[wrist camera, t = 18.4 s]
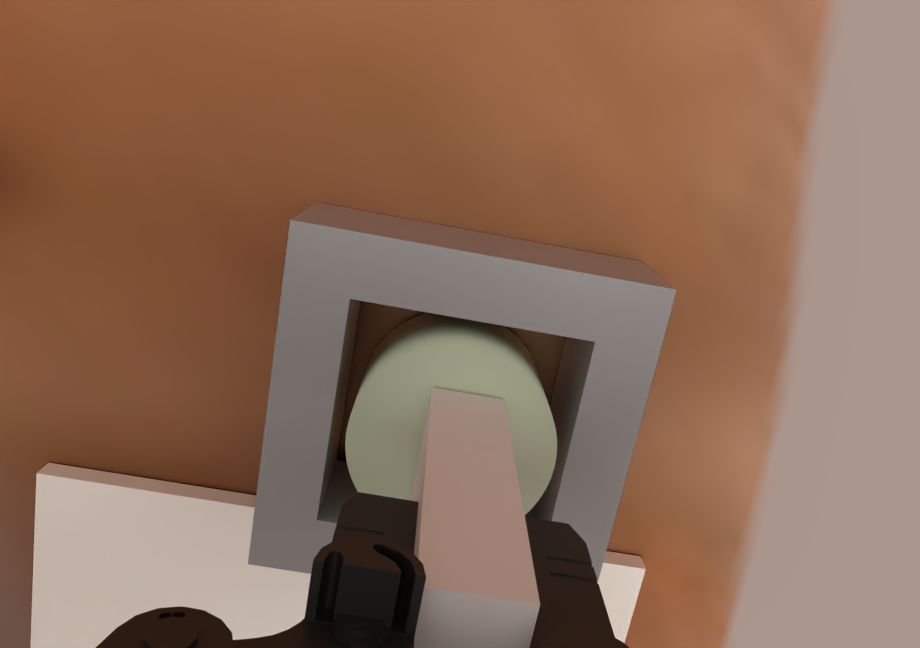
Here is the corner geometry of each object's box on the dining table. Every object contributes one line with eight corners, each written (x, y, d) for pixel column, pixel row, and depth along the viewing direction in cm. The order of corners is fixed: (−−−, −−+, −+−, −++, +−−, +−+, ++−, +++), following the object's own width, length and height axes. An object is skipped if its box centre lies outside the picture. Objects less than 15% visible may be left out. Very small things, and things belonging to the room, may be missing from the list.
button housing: (277, 498, 20) (248, 564, 17) (316, 201, 18) (290, 219, 15) (569, 545, 20) (588, 616, 18) (641, 261, 18) (676, 290, 15)
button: (350, 462, 19) (331, 525, 16) (376, 295, 18) (361, 331, 15) (520, 489, 19) (532, 557, 16) (558, 326, 18) (578, 368, 15)
